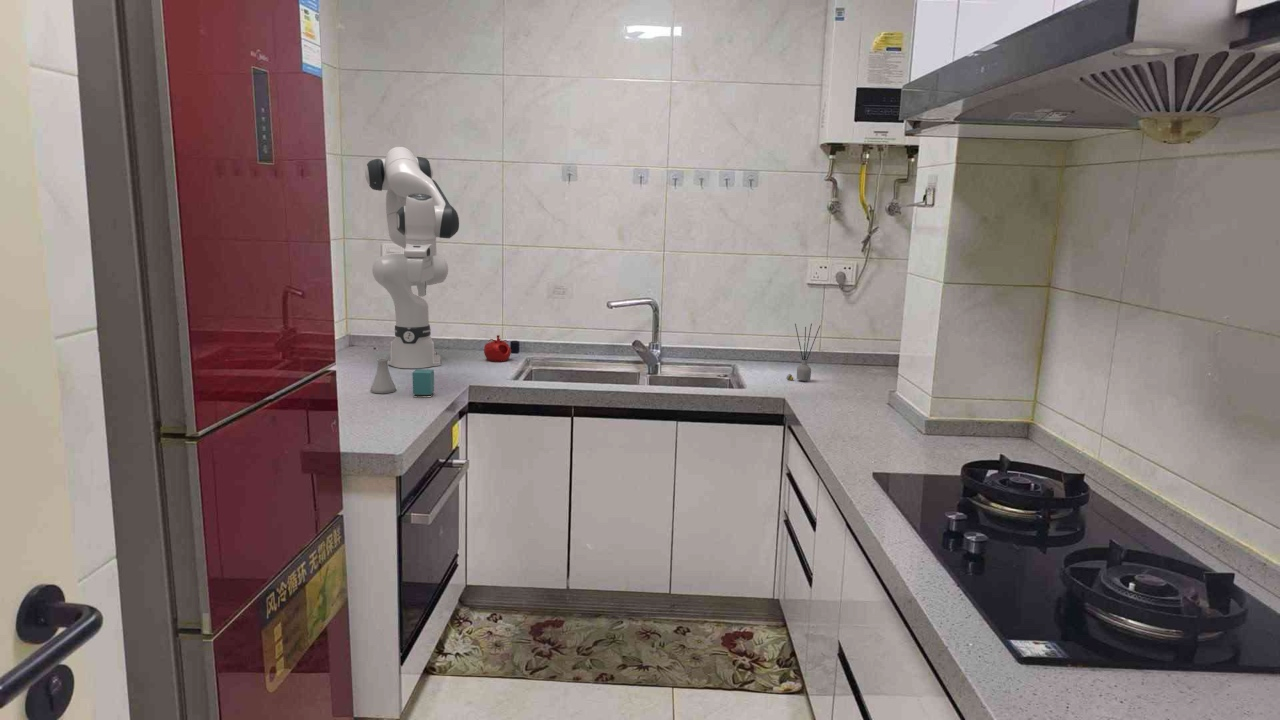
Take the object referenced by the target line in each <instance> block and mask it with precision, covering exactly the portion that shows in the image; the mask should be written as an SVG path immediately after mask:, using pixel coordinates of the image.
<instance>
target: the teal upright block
mask: <svg viewBox="0 0 1280 720" xmlns="http://www.w3.org/2000/svg"><path fill="white" fill-rule="evenodd" d="M411 375H412V395H413V396H414V395H431V394H432V393H433V392H435V369H427V368H426V369H425V368H415V370H414V371H413V372H412V374H411Z"/></svg>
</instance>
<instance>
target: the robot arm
mask: <svg viewBox="0 0 1280 720" xmlns="http://www.w3.org/2000/svg"><path fill="white" fill-rule="evenodd" d="M433 174H434V173H433V168H432V165H431V163H430V161H429V159H427V157H422V156H415V155H414V154H413V152H412V151H411V150H410V149H408V148H406V147H404V146H395V147H393V148H391V149H389V150H388V152H387V153H386V155H385V158H374V159H371V160H369V161H368V162H367V163H366V167H365V171H364V176H365V180H366V182H367V185H368V186H369V188H370V189H372V190H373V191H381V192H382V191H386V194H385V212H386V213H385V214H386V221H387V228H388V235H389V238H390V240H391V241H392V242H393V244H395V245H397V246H398V247H401V248H403V249H404V250H403V253H391V254H385V255H381V256H378V257H377V258H376V259H375V261H374V262H373V265H372V276H373V278H374V280H375V281H376V282H377V283H378V284H379V285H380V286H381V287H383V288H384V289H385V290H386V291H387V293H389V295H390V296H391V300H392V301H393V305H394V312H395V325H394V336H395V337H394V339H393V340H391V341H390V360H388V362H387V364H388V366H392V367H394V368H398V369H399V368H400V369H425V368H430V367H431V368H432V367H437V366H442V365H441V355H438V354H437V351H435V342H434V341H433V339H432V337H431V325H430V323H429V305H428V302H427V300H425V299H424V298H422V297H425V296H426V295H427V286H432V285H437V284H440V283H444V282H445V280H446V279H447V277H448V274H449V267H448V263H447V260H446V259H445V258H444V257H443V256H442V255H440V254H439V253H437V238H440V239H448V240H449V239H451V238H453V237H454V236H455V235H456V234H457V233H458V231H459V228H460V217H459V215H458V212H457V210H456V208H454V206H452V205H451V203H450V202H449V200H448V199H447V198H446V196H445V194H444V192H443V190H442V188H441V187H440V186H439V184H438V183H437V181H436V180H435V179H433V176H434V175H433ZM414 286H416V289H417V295H416V294H414V293H413V290H412V287H414Z"/></svg>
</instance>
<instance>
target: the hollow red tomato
mask: <svg viewBox="0 0 1280 720" xmlns="http://www.w3.org/2000/svg"><path fill="white" fill-rule="evenodd" d="M500 337H501V336H500V335H499V334H498V335H496V339H492V338H490V339H489V340H488V342H487V343H486V344H484V348H483V354H484V356H485V358H486V359H487V360H488V361H490V362H506V361H507V360H508V359H509V358H510V357H511V355H512V354H511V353H512V348H511V347H510V346H509V344H508V343H509V342H510V341H508V340H507V339H505V340H502V338H500ZM509 360H510V359H509Z"/></svg>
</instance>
